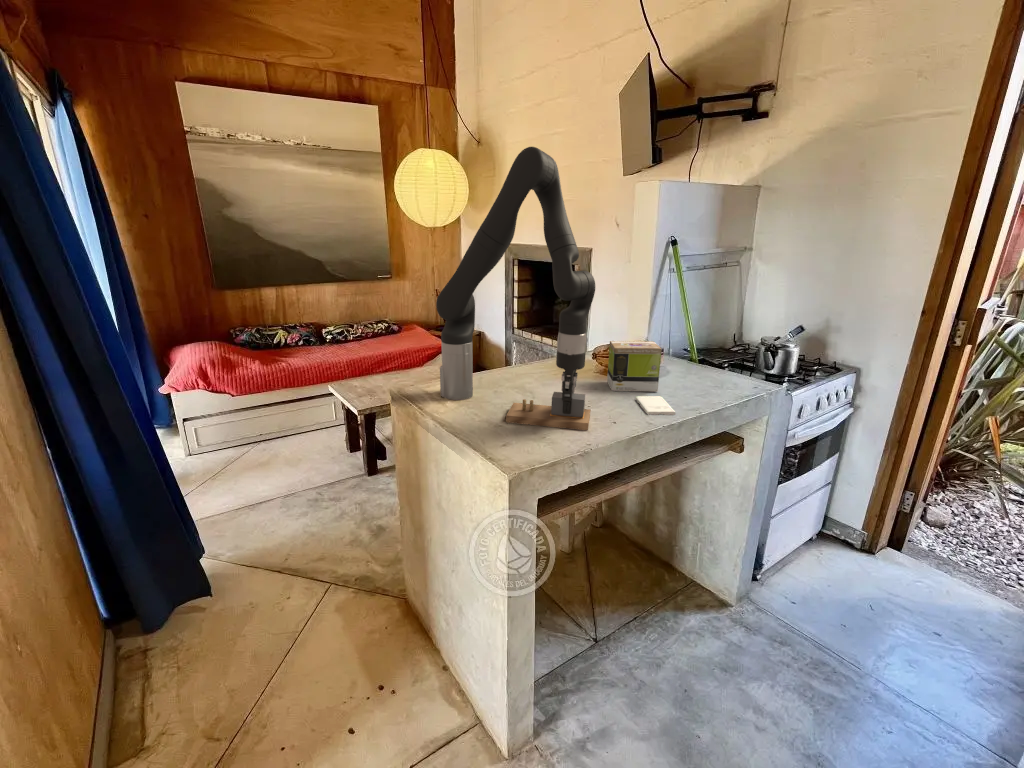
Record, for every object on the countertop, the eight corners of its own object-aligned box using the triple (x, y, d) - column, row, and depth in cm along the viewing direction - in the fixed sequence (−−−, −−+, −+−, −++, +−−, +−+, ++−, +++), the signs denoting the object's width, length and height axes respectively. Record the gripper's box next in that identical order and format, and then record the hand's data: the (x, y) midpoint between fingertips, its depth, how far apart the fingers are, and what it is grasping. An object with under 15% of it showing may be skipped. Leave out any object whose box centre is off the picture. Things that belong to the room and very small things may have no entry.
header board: (506, 422, 133) (506, 405, 132) (513, 409, 143) (513, 392, 141) (588, 430, 129) (589, 412, 128) (590, 416, 139) (591, 399, 137)
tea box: (650, 382, 168) (655, 340, 163) (657, 392, 158) (663, 348, 154) (606, 381, 168) (609, 339, 163) (610, 391, 159) (614, 347, 154)
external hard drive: (661, 401, 153) (675, 416, 141) (634, 401, 152) (647, 416, 141) (661, 396, 152) (676, 411, 140) (635, 396, 152) (647, 411, 140)
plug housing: (551, 414, 133) (551, 397, 131) (553, 408, 137) (553, 391, 136) (583, 417, 131) (584, 400, 130) (584, 411, 136) (585, 394, 134)
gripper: (559, 341, 136) (556, 399, 141) (553, 355, 122) (550, 418, 128) (587, 343, 134) (583, 402, 140) (584, 357, 121) (579, 421, 127)
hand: (567, 409), depth 134 cm, fingers open, 4 cm apart
